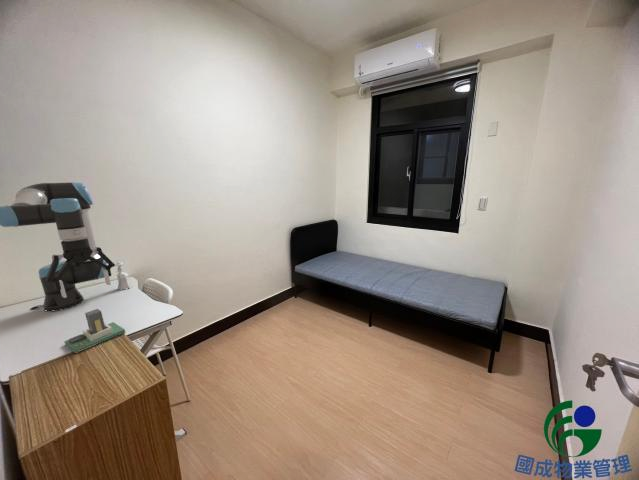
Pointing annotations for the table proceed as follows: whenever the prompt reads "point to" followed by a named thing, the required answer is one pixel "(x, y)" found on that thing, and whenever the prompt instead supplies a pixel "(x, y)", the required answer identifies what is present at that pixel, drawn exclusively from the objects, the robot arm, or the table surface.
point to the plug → (95, 321)
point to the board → (93, 337)
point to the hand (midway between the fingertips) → (87, 290)
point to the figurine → (122, 277)
